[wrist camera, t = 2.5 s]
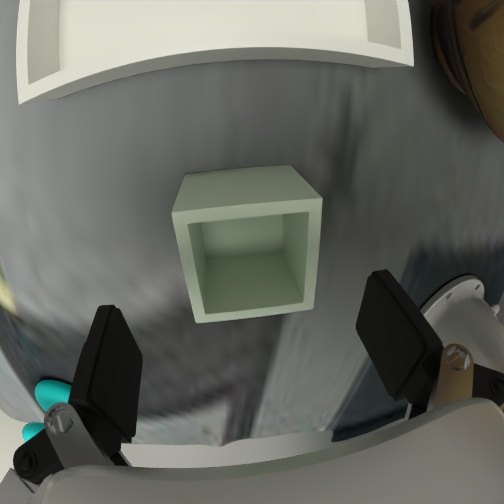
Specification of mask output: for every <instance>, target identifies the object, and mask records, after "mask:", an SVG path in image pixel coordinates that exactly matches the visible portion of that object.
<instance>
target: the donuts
mask: <svg viewBox="0 0 504 504" xmlns="http://www.w3.org/2000/svg"><path fill="white" fill-rule="evenodd" d="M71 387H72V386H71V385H69V384H66V383H63V382H60V381H56V380H43V381H41V382H39V383H38V384H37V385H36V388H35V396H36V399H37V401H38V403H39V405H40V406H41V407H42V408H43V410H44V411H46V412H47V410H48V409H49V408H50V407H51V406H52V405H54V404H56V403H59V402H65V403H68V399H69V395H70V391H71ZM44 428H45V426H44V423H38V422H32V423H28V424H26V425H25V426H24V428H23V430H22V434H23V438H24V440H25V442H27V441H28V440H29V439H31V438H32V437H33V436H35V435H36V434H37V433H39V432H40V431H41V430H43V429H44Z"/></svg>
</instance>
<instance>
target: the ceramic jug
mask: <svg viewBox="0 0 504 504" xmlns="http://www.w3.org/2000/svg"><path fill="white" fill-rule="evenodd" d="M431 7H432V11H431V28H430V33H431V40H432V46H433V51H434V56H435V58H436V59H437V60H438V62H439V63H440V64H441V65H442V67H443V68H444V71H445V73H446V75H447V76H448V78H449V79H450V81H451V83H452V84H453V85H454V86H455V87H456V88H457V89H458V90H460V91H461V92H463V93H464V94H466V95H467V96H468V98H469V99H470V101H471V102H472V104H473V105H474V107H475V109H476V110H477V112H478V113H479V114H480V116H481V117H482V119H483V120H484V121H485V123H486V124H487V125H488V126H489V128H490V129H491V130H492V131H493V133H494V134H495V135H496V136H497V137H498V138H499V139H500V140H501V141H502V142H503V143H504V0H442V1H436V2H435V3H434V4H433V5H432V6H431Z"/></svg>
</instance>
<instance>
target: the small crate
mask: <svg viewBox="0 0 504 504" xmlns="http://www.w3.org/2000/svg"><path fill="white" fill-rule="evenodd" d="M171 214H172V219H173V224H174V229H175V234H176V239H177V244H178V249H179V254H180V258H181V263H182V267H183V272H184V276H185V281H186V285H187V289H188V293H189V297H190V301H191V305H192V309H193V313H194V317H195V321H196V323H204V322H215V321H225V320H234V319H243V318H252V317H260V316H268V315H276V314H283V313H290V312H297V311H304V310H310V309H313V306H314V297H315V288H316V278H317V268H318V256H319V244H320V231H321V216H322V197H321V196H320V195H319V194H318V193H317V192H316V191H315V190H314V189H313V188H312V187H311V186H310V185H309V184H308V183H307V182H306V181H305V180H304V179H303V178H302V176H301V175H300V174H299V173H298V172H297V171H296V170H295V169H294V168H293V167H292V166H291V165H276V166H261V167H248V168H236V169H226V170H216V171H207V172H199V173H191V174H185V176H184V179H183V181H182V184H181V187H180V189H179V192H178V195H177V198H176V201H175V203H174V206H173V209H172V212H171Z"/></svg>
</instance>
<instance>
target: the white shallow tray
mask: <svg viewBox="0 0 504 504" xmlns="http://www.w3.org/2000/svg"><path fill="white" fill-rule="evenodd" d="M264 59H278V60H307V61H321V62H332V63H341V64H349V65H356V66H363V67H369V68H381V67H407V66H414V57H413V41H412V29H411V20H410V12H409V4H408V0H20V5H19V14H18V26H17V46H16V66H17V88H18V100H19V105H20V104H25V103H31V102H37V101H43V100H50V99H58V98H61V97H64V96H67V95H69V94H72V93H75V92H78V91H81V90H84V89H87V88H90V87H93V86H96V85H99V84H103V83H106V82H110V81H113V80H117V79H121V78H125V77H129V76H133V75H137V74H142V73H146V72H151V71H156V70H161V69H167V68H173V67H179V66H186V65H193V64H201V63H211V62H222V61H236V60H264Z"/></svg>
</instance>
